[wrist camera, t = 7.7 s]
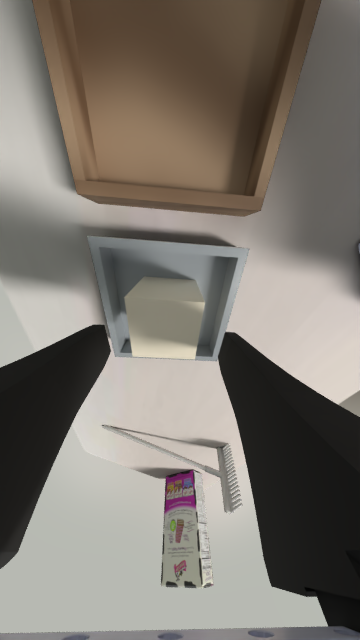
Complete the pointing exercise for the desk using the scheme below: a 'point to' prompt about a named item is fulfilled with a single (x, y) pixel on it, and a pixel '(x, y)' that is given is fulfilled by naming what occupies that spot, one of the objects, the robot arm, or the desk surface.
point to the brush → (222, 473)
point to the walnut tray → (174, 96)
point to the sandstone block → (164, 317)
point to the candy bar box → (185, 533)
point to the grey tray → (167, 262)
